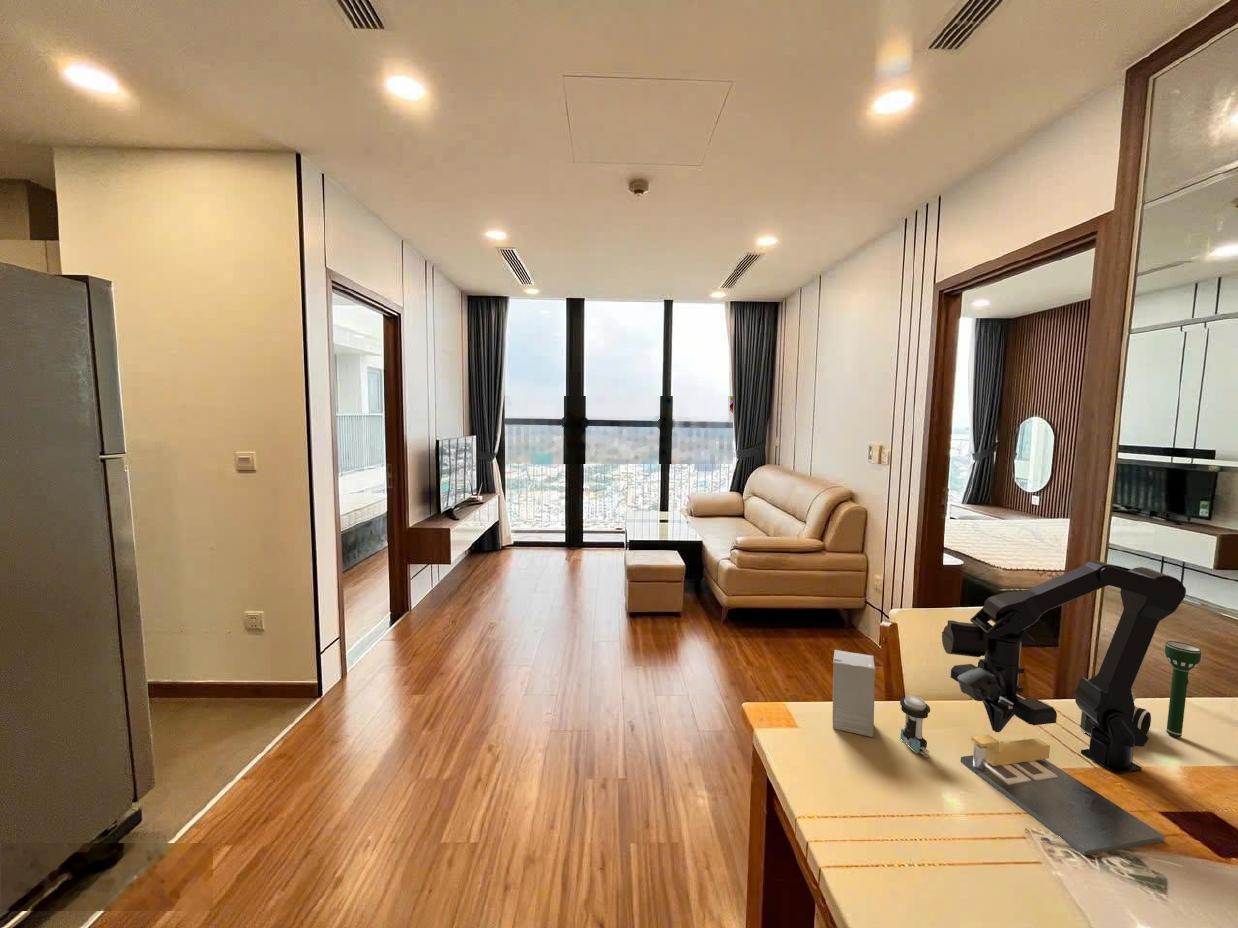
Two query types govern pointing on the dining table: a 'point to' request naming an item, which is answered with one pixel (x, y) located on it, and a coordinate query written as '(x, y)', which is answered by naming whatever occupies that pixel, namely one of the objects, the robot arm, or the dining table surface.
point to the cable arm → (1012, 750)
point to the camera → (1140, 720)
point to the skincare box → (853, 692)
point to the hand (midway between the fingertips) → (996, 731)
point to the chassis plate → (1073, 811)
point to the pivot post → (979, 756)
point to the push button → (914, 723)
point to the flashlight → (1179, 681)
